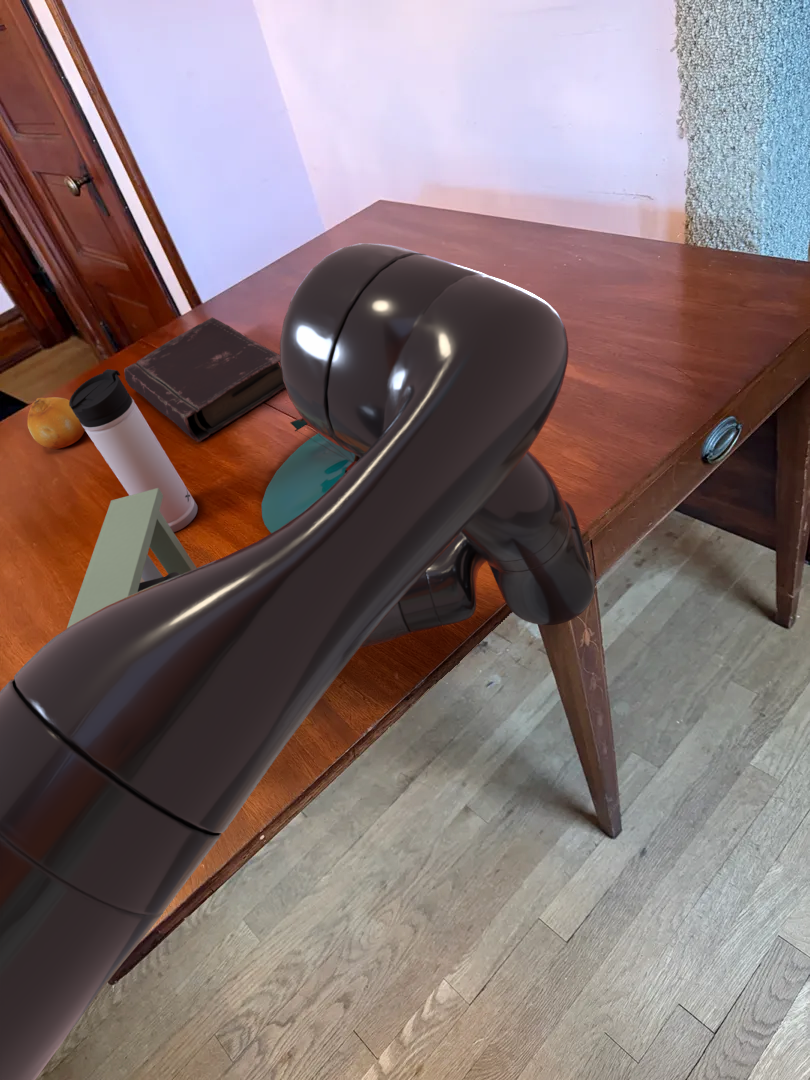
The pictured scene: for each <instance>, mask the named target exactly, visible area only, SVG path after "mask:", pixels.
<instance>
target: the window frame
mask: <svg viewBox="0 0 810 1080" xmlns="http://www.w3.org/2000/svg"><path fill="white" fill-rule="evenodd" d="M162 499H163V494H162V493H161V491H160V490H159V488H156V489H153V490H149V491H145V492H141V493H138V494H134V495H130V496H129V495H127V496H123V497H119V498H116V499H112V500H110V502H109V506H108V509H107V512H106V515H105V517H104V520H103V523H102V525H101V528H100V530H99V531H100V532H99V534H98V537H97V540H96V543H95V546H94V548H93V552H92V554H91V558H90V561H89V563H88V565H87V568H86V572H85V575H84V578H83V581H82V583H81V586H80V589H79V592H78V595H77V598H76V600H75V603H74V606H73V609H72V612H71V615H70V618H69V621H68V624H67V627H66V629H67V628H68V627H70V626H71V625H73V624H75V623H77V622H79V621H80V620H82V619H84V618H86V617H88V616H90V615H91V614H93V613H95V612H97V611H99V610H101V609H102V608H104V607H106V606H108V605H110V604H113V603H115V602H117V601H119V600H121V599H123V598H126V597H128V596H130V595H132V594H134V593H137V592H138V588H139V584H140V580H141V577H142V578H143V580H144V581H149V580H153V579H157V578H161V577H164V576H163V574H162V573H161V571H160V569H158V567H157V566H156V564H155V563H154V561H153V560H152V558H151V557H150V556H149V551H150V550H151V551H152V553H153V555H154V556H155V558H157V560H158V562H159V563H160V565H161V566H162V567H163V569H164V570H165V572H166V573H167V575H168V574H170V573H172V572H178V573H179V574H183V573H185V572H188V571H190V570H193V569H195V568H197V566H196V564H195V563H194V561H193V560H192V559H191V557H190V556H189V555H190V554H188V552H187V551H186V549H185V547H184V546H183V544H182V543H181V542H180V539H178V537H177V535H176V534H175V532H173V531H172V529H171V528H170V526H169V525H168V523H167V522H166V520H165V519H164V517H163V516H162V514H161V513H160V511H159V510H160V506H161V502H162Z"/></svg>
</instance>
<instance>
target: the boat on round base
mask: <svg viewBox="0 0 810 1080" xmlns="http://www.w3.org/2000/svg"><path fill="white" fill-rule="evenodd" d="M289 424H290V425H292V426H293V427H294V429H295V430H294V432H298V433H299V434H301V435H303V436H305V437H306V438H307V440H305V442H303V443H302V444H301V445H300V446H299V447H298V448H297V449H296V450H295V451H294V452H292V453H291V454H290V456H289V457H287V459H286V460H285V461H284V462H283V463H282V464H281V466H280V467H279V468H278V469H277V470H276V472H275V473H274V475H273V477H272V478H271V479H270V481H269V483H268V485H267V486H266V489H265V492H264V495H263V498H262V501H261V518H262V521H263V523H264V526H265V527H266V529H267V530H268V532H269V533H270V534H271V533H273V532H275V531H276V530H278V529H280V528H281V527H283V526H284V525H286V524H287V523H288V522H290V521H291V520H293V519H294V518H296V517H297V516H299V515H300V514H301V513H303V512H304V511H305V510H306V509H308V508H309V507H310V506H311V505H312V504H313V503H315V502H316V501H317V500H318V499H319V498H321V497H322V496H323V495H324V494H325V493H326V492H327V491H328V490H329V489H330V488H331V487H332V486H333V485H334V484H335V483H336V482H337V481H338V480H339V479H340V478H341V477H342V476H343V475H344V474H345V473H346V472H347V471H348V470H349V469H350V468H351V467H352V466H353V465H354V464H355V463H356V462H357V461H358V460H359V459H360V457H358V456H356V455H355V454H353V453H350V452H348V451H346V450H344V449H342V448H340V447H339V446H337V445H335V444H334V443H332V442H331V441H329V440H327V439H326V438H325V437H323V436H322V435H321V434H319V433H318V432H317V431H316V430H313V428H312V427H309V429H310V430H312V431H313V432H314V433H315V434H314V435H313V436H311V437H309V436H307V435H305V434H303V433H301V432H300V431H298V430H301V429H302V428H303V427H305V426H306V427H308V425H309V424H308V423H307V422H306V421H305V420H304V419H303V418H302V417H301V416H300V417H299V418H297V419H294V420H292V421H290V422H289Z"/></svg>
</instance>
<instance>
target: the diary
mask: <svg viewBox="0 0 810 1080" xmlns="http://www.w3.org/2000/svg"><path fill="white" fill-rule="evenodd" d="M124 379H125V381H126V383H127V385H128V386H129V387H130V388H131V389H132V390H134V391H135V392H136V393H138V394H139V395H140V396H142V397H143V399H145V400H146V401H147V402H149V404H150V405H152V406H153V407H154V408H155V409H156V410H157V411H158V412H160V413H161V414H162V415H164V417H166V418H168V419H169V420H170V421H172V422H173V423H174V424H175V425H176V426H177V427H178V428H179V429H180V430H181V431H183V432H184V433H185V434H186V435H187V436H189V438H191V439H193V440H194V442H197V443H201V442H202V441H203V440H205V439H206V438H208V437H209V436H211V434H212V435H213V434H214V433H216V432H218V431H220V430H221V429H222V428H224V427H225V426H227V425H229V424H231V422H234V421H235V420H237V419H238V418H240V417H242V416H243V415H245V414H246V413H248V412H250V411H251V410H252V409H254V408H256V407H257V406H259V405H261V404H262V403H264V402H265V401H267V400H269V399H270V398H271V397H273V396H274V395H276V394H277V393H279V392H280V391H281V390H283V389H284V388H286V387H285V385H284V382H283V377H282V371H281V365H280V353H279V354H278V353H277V352H275V351H274V350H271V349H270V348H268V347H266V346H264V345H263V344H260V343H258V342H256V341H254V340H253V339H251V338H249V337H247V336H245V335H244V334H242V333H241V332H239V331H238V330H237V329H235V328H233V327H232V326H230V325H228V324H226V323H225V322H223V321H220V320H218V319H217V318H215V317H213V316H212V317H210V318H208V319H206V320H204V321H202V322H201V323H199V324H196V325H195V326H194V327H192V328H190V329H187V330H186V331H185V332H182V333H180V334H179V335H178V336H177V335H176V336H175V337H174V338H172V339H170V340H169V341H167V342H165V343H164V344H162V345H161V346H159V347H157V348H155V349H154V350H152V351H151V352H149V353H148V354H146V355H144V356H143V357H141V358H140V359H138V360H137V361H135V362H134V363H132V364H130V365H129V366H126V367H125V368H124Z"/></svg>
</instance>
